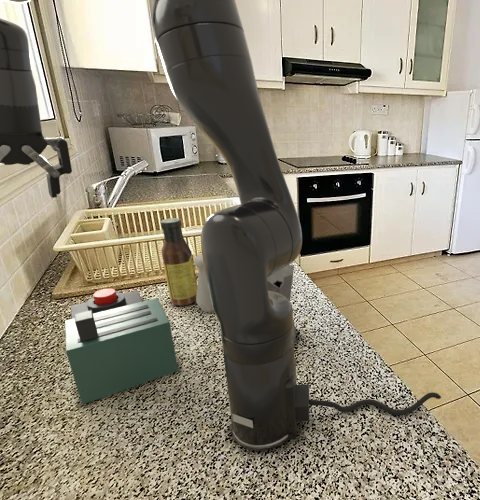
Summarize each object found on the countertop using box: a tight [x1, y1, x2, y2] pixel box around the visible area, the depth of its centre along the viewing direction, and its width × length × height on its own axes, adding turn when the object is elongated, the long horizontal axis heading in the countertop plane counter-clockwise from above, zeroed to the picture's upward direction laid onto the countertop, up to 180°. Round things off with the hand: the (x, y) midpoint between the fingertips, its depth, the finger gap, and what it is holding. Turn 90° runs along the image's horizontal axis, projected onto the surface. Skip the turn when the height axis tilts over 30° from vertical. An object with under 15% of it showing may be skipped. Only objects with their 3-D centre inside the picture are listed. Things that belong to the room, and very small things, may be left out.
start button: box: [93, 288, 117, 305], centre depth 80 cm, size 4×4×2 cm
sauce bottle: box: [160, 217, 198, 307], centre depth 85 cm, size 6×6×20 cm
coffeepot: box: [267, 264, 297, 343], centre depth 73 cm, size 15×9×18 cm, turn 26°
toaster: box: [64, 297, 179, 405], centre depth 63 cm, size 14×10×10 cm
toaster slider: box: [75, 310, 98, 342], centre depth 56 cm, size 2×3×4 cm
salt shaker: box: [194, 253, 214, 313], centre depth 83 cm, size 6×6×13 cm
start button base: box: [70, 290, 143, 319], centre depth 81 cm, size 13×10×4 cm
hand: (21, 197), depth 63 cm, fingers open, 8 cm apart
